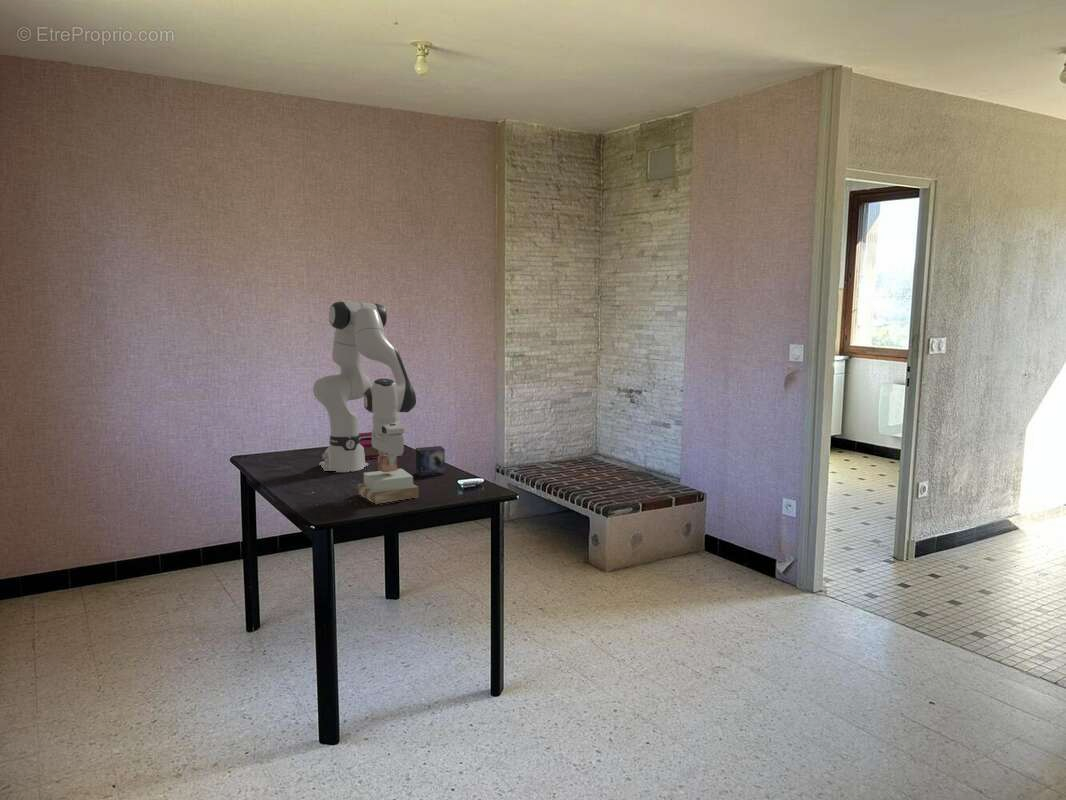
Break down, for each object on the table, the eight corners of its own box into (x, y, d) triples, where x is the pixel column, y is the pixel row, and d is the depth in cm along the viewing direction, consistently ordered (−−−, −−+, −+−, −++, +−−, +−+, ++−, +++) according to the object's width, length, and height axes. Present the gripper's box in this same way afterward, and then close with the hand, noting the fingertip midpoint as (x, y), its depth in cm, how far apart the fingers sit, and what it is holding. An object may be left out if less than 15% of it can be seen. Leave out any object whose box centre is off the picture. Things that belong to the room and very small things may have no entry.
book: (355, 461, 329) (354, 444, 328) (337, 450, 353) (337, 434, 352) (401, 456, 339) (401, 439, 338) (381, 445, 363) (381, 429, 362)
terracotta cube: (378, 469, 270) (377, 456, 269) (391, 467, 273) (390, 454, 272) (383, 472, 266) (383, 458, 265) (397, 470, 269) (396, 456, 268)
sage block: (363, 483, 273) (363, 472, 272) (402, 479, 279) (401, 468, 278) (373, 492, 261) (373, 481, 260) (413, 487, 267) (412, 476, 266)
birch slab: (358, 496, 273) (357, 484, 272) (399, 489, 282) (399, 477, 281) (376, 506, 260) (375, 493, 259) (418, 499, 268) (418, 486, 268)
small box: (419, 477, 298) (418, 450, 297) (415, 473, 304) (414, 447, 303) (445, 474, 302) (445, 448, 301) (441, 471, 308) (440, 445, 307)
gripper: (366, 422, 274) (367, 460, 276) (389, 430, 257) (390, 470, 259) (382, 420, 277) (384, 457, 279) (406, 428, 261) (407, 468, 262)
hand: (387, 464), depth 269 cm, fingers closed on terracotta cube, 5 cm apart
